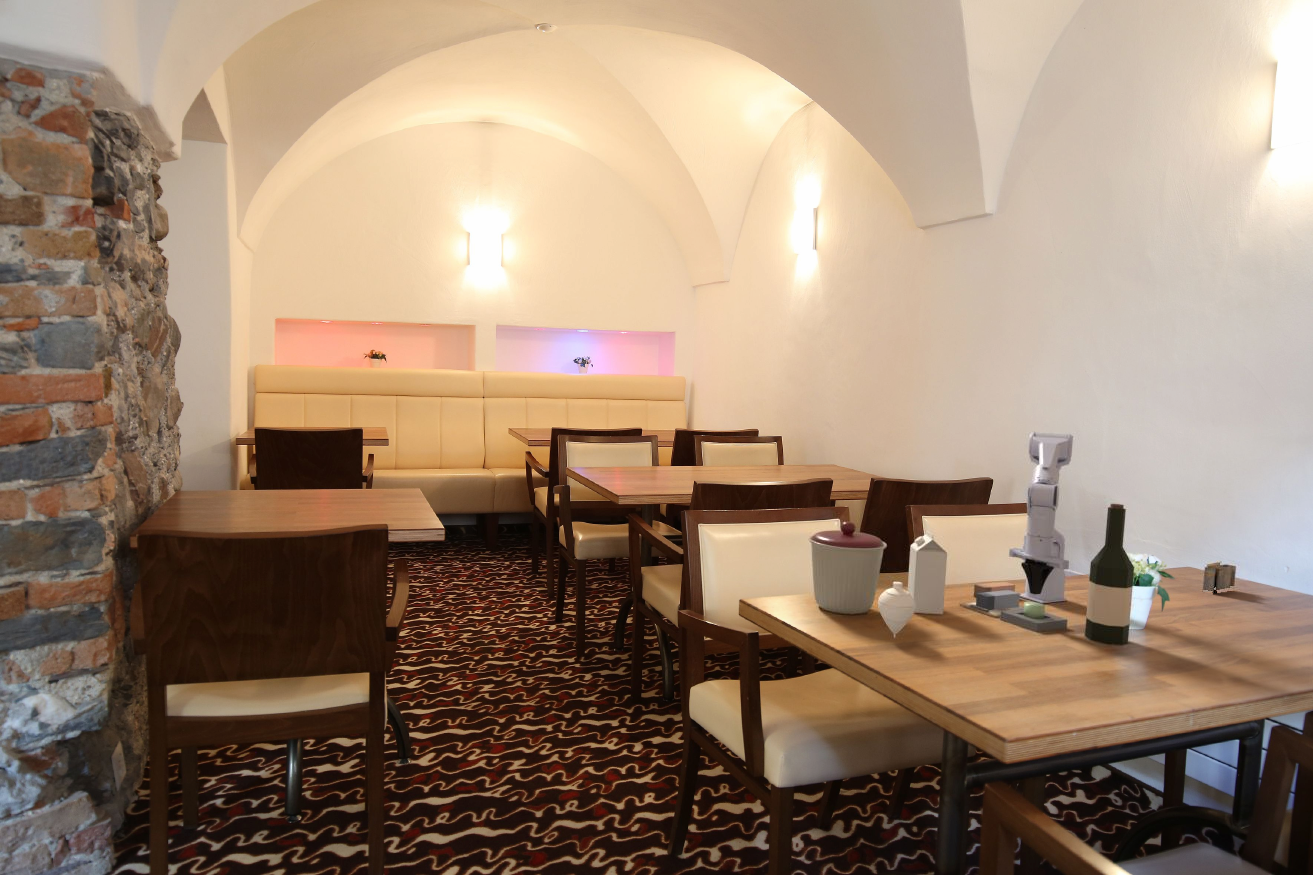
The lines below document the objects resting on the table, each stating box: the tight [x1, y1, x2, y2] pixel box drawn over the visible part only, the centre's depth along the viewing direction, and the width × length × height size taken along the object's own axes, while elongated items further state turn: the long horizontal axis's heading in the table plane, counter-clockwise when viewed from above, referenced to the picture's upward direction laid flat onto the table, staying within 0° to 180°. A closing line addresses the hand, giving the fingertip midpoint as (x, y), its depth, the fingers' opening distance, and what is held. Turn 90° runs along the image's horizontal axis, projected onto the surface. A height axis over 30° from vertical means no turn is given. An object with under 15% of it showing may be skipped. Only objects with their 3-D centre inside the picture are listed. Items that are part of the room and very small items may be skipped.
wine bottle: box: [1084, 503, 1135, 646], centre depth 178 cm, size 8×8×30 cm
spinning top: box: [877, 581, 915, 639], centre depth 173 cm, size 8×8×12 cm
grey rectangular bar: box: [975, 590, 1021, 610], centre depth 201 cm, size 11×3×3 cm, turn 116°
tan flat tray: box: [959, 601, 1024, 619], centre depth 201 cm, size 14×11×1 cm
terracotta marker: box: [973, 581, 1016, 599], centre depth 213 cm, size 11×3×3 cm, turn 116°
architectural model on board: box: [1202, 561, 1237, 592], centre depth 230 cm, size 11×3×10 cm, turn 119°
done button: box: [1023, 601, 1046, 620], centre depth 189 cm, size 4×4×3 cm
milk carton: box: [907, 529, 948, 615], centre depth 196 cm, size 7×7×19 cm
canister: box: [808, 521, 888, 615], centre depth 194 cm, size 18×18×21 cm
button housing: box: [999, 609, 1068, 633], centre depth 189 cm, size 10×10×2 cm
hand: (1035, 593), depth 189 cm, fingers closed
